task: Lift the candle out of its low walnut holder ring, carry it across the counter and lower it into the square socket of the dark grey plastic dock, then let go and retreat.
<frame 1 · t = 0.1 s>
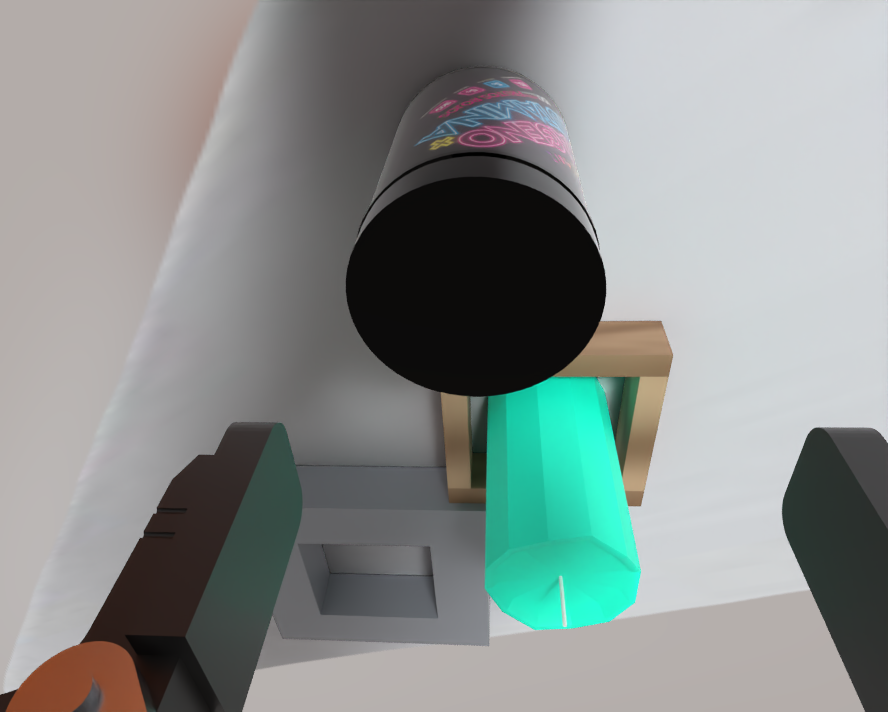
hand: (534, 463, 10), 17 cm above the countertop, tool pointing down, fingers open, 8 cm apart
dock: (378, 540, 41), on the countertop
candle: (544, 399, 32), resting in holder ring
holder ring: (545, 402, 32), on the countertop
supplement container: (481, 150, 25), on the countertop
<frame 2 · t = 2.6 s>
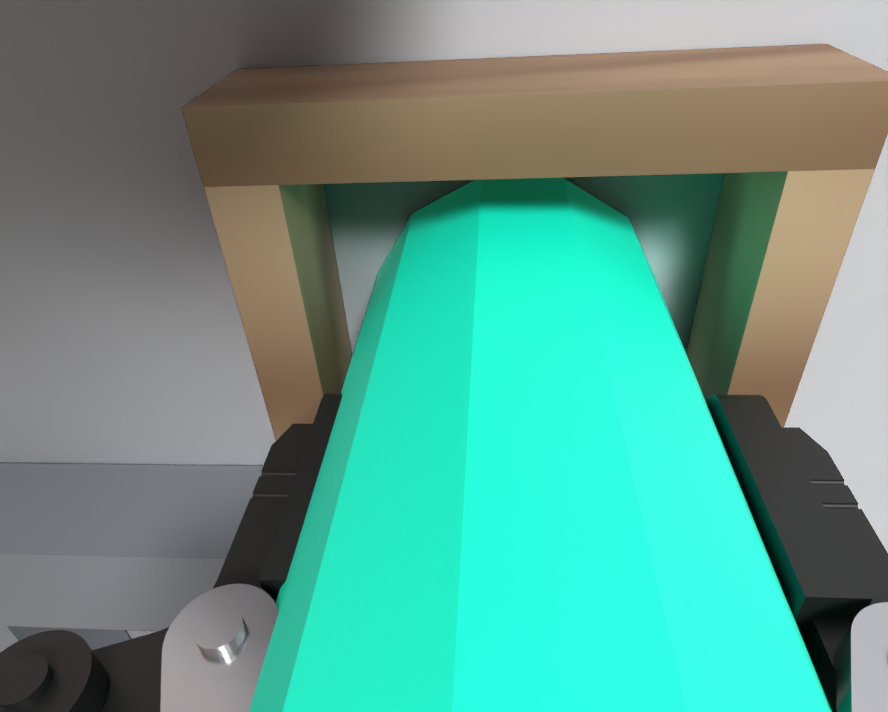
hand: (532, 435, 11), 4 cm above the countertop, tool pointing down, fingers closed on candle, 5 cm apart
dock: (216, 609, 22), on the countertop
candle: (513, 301, 14), resting in holder ring, touching gripper
holder ring: (516, 306, 14), on the countertop
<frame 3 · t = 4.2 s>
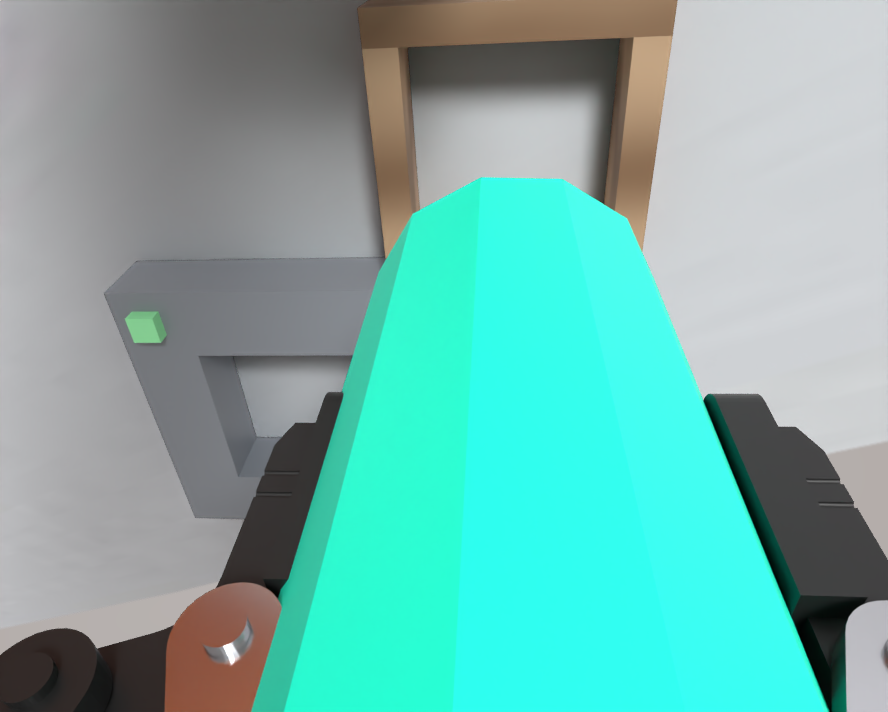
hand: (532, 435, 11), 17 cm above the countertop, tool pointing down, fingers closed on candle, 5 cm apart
dock: (312, 382, 32), on the countertop
candle: (512, 302, 14), point 13 cm above the countertop, touching gripper
holder ring: (511, 138, 25), on the countertop
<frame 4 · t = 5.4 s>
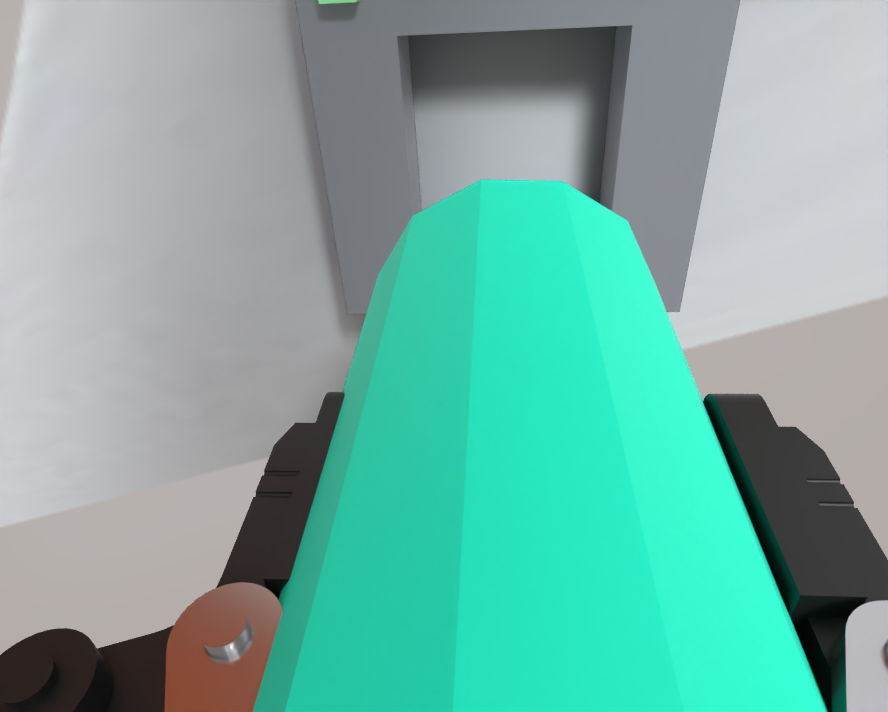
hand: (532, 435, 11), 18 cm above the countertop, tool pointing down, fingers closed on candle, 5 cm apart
dock: (510, 123, 25), on the countertop
candle: (512, 304, 14), point 14 cm above the countertop, touching gripper
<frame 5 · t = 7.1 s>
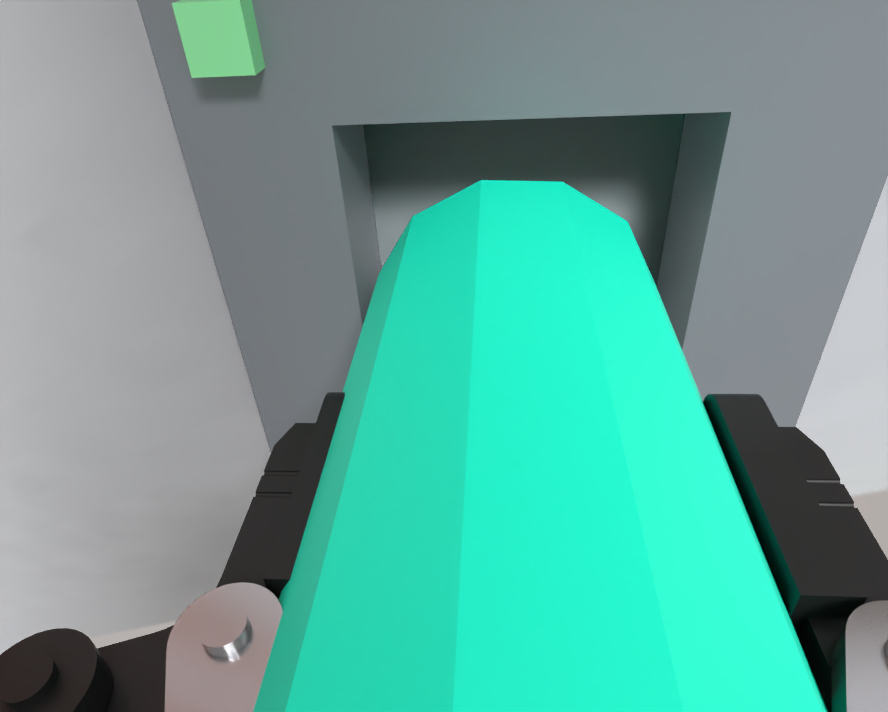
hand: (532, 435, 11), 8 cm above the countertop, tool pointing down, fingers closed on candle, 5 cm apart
dock: (518, 233, 17), on the countertop
candle: (512, 304, 14), point 4 cm above the countertop, touching gripper
when the fingers open (5 cm above the countertop, at t = 8.1 s): candle drops 1 cm, resting in dock.
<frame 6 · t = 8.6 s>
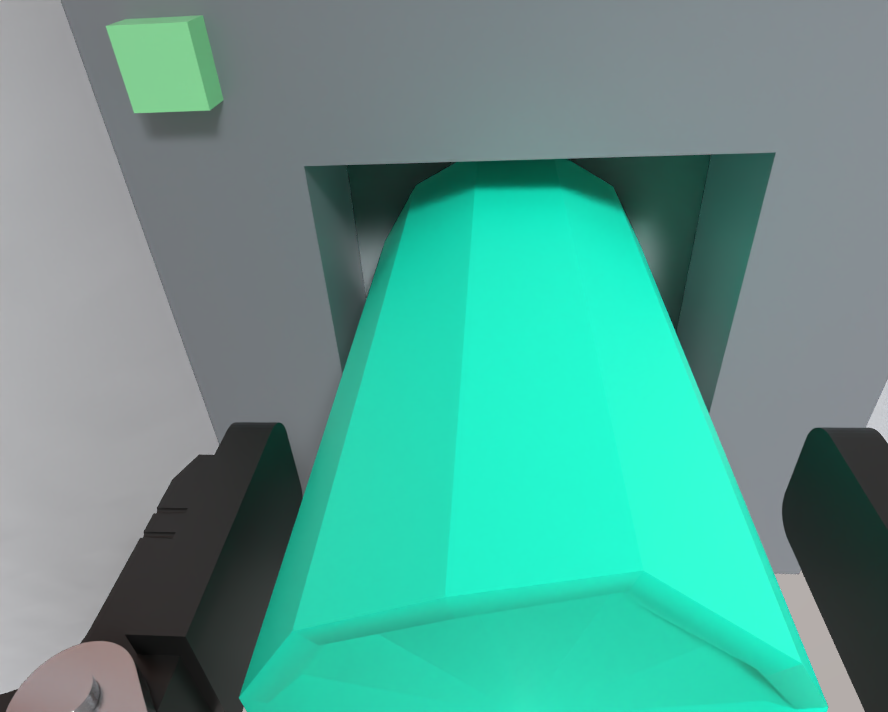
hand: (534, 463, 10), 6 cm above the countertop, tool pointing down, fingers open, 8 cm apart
dock: (521, 276, 15), on the countertop
candle: (509, 268, 15), resting in dock
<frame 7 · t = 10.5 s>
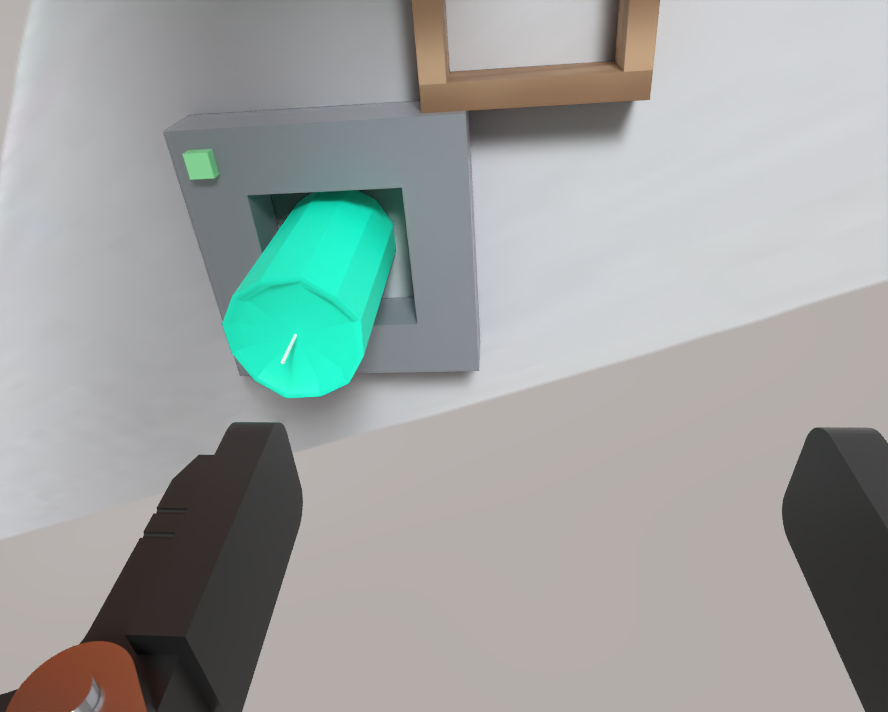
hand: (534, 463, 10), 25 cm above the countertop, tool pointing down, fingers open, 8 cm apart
dock: (348, 238, 35), on the countertop
candle: (343, 236, 35), resting in dock
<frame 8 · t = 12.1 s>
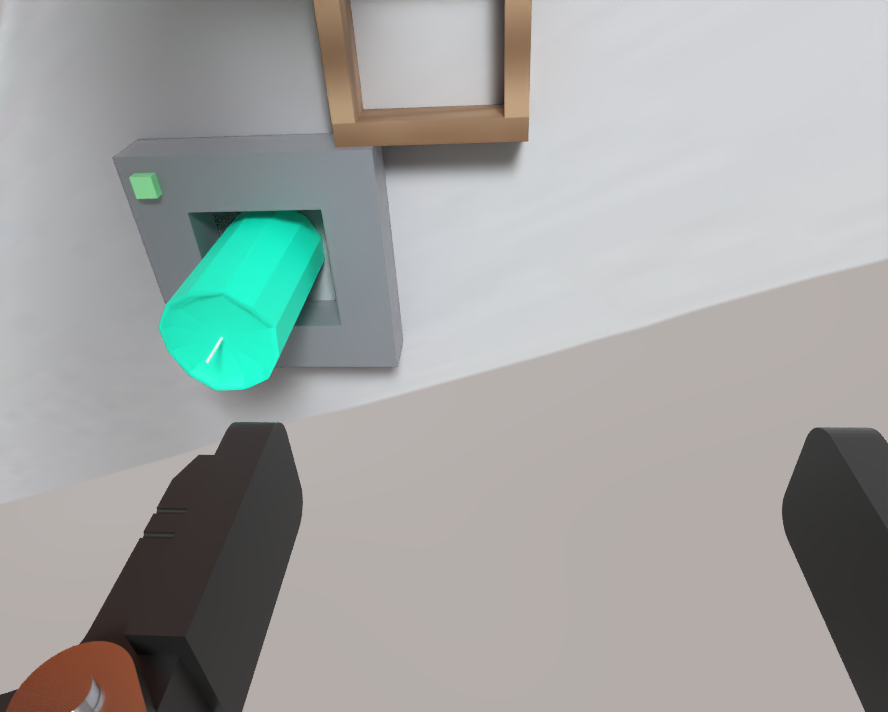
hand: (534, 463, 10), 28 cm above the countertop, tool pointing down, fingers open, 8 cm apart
dock: (282, 248, 40), on the countertop
candle: (278, 246, 40), resting in dock
holder ring: (428, 28, 32), on the countertop
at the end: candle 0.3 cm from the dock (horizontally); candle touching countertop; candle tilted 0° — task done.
